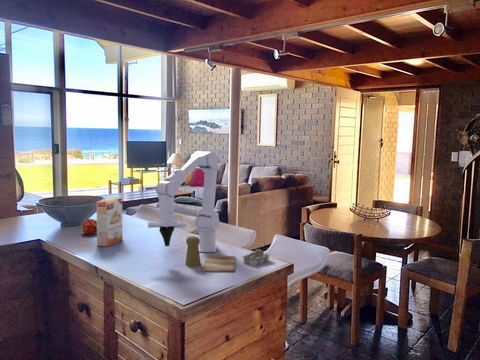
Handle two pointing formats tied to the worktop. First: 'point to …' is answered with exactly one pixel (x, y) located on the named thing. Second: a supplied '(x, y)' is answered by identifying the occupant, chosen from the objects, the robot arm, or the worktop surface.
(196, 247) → the cork
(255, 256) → the egg carton
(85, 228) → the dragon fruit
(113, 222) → the cracker box
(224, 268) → the board
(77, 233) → the worktop surface
